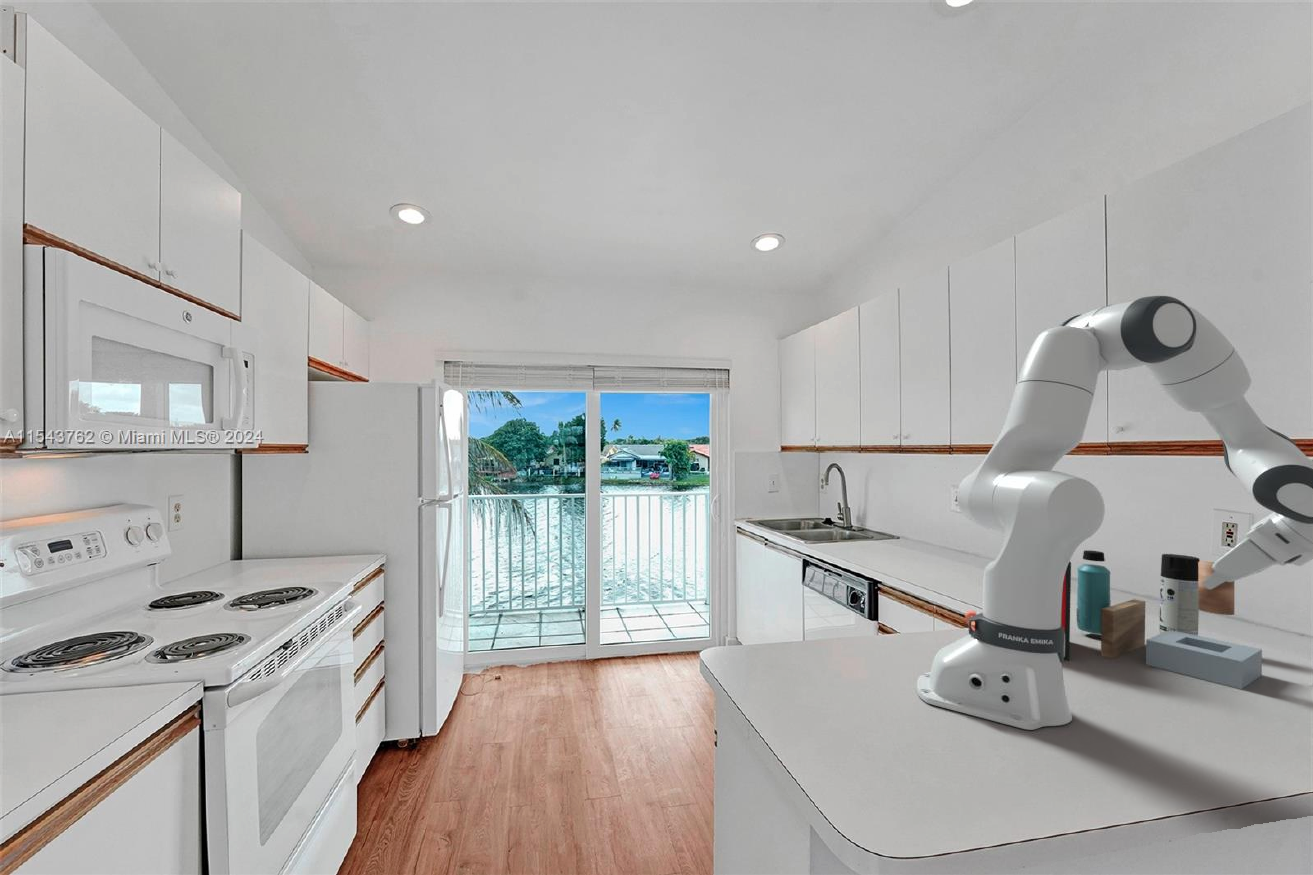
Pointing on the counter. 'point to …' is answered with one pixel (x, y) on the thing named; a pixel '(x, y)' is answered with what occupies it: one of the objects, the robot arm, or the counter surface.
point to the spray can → (1179, 594)
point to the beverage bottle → (1092, 593)
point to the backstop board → (1122, 628)
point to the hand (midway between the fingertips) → (1211, 584)
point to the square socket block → (1205, 658)
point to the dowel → (1214, 593)
